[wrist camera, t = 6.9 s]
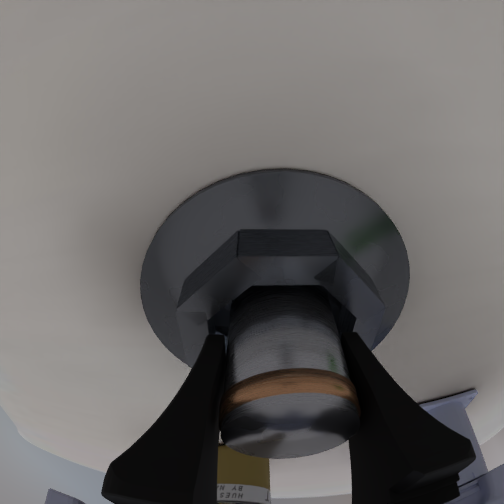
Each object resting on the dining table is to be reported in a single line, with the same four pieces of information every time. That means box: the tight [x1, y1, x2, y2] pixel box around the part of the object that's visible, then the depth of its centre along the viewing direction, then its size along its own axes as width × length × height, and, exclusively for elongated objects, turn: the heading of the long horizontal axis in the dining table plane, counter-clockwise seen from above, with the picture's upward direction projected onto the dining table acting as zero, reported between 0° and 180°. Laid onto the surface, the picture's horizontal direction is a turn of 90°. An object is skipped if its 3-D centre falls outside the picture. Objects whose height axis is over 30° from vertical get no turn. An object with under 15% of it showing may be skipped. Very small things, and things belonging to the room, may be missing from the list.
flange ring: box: [140, 169, 410, 368], centre depth 14 cm, size 13×13×2 cm
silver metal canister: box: [218, 285, 361, 459], centre depth 11 cm, size 5×5×6 cm
